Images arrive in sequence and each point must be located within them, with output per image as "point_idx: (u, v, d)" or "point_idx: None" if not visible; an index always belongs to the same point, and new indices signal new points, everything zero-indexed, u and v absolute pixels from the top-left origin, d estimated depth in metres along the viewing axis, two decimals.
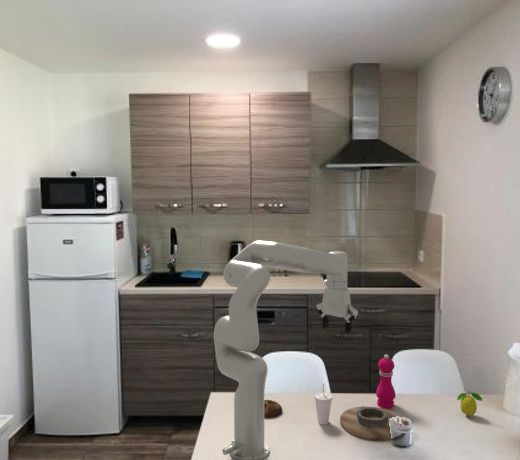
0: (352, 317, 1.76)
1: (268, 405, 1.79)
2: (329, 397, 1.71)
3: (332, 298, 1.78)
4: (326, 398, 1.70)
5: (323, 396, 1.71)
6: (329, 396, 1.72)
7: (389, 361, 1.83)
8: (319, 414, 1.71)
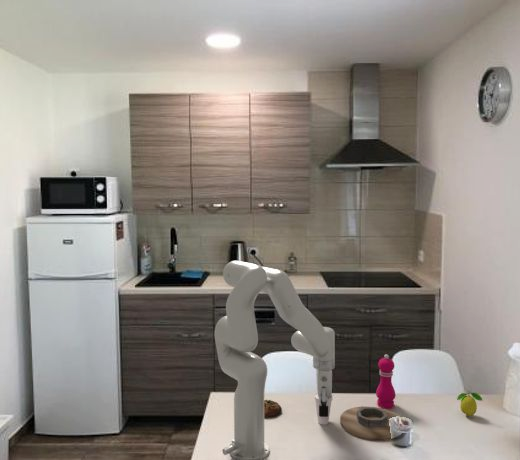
0: None
1: (267, 405, 1.79)
2: None
3: None
4: None
5: None
6: None
7: (389, 361, 1.83)
8: None
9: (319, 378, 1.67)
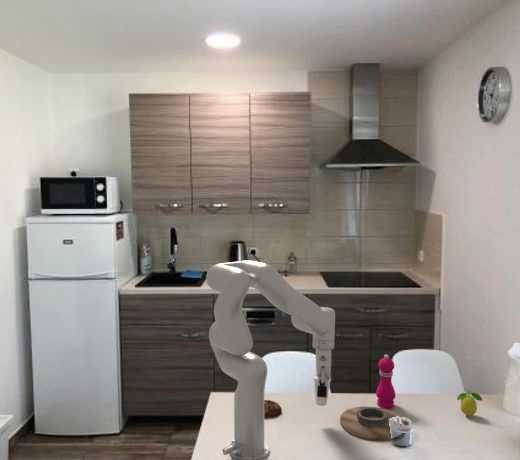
0: None
1: (267, 405, 1.79)
2: (328, 378, 1.70)
3: None
4: None
5: None
6: None
7: (389, 361, 1.83)
8: None
9: (318, 357, 1.66)
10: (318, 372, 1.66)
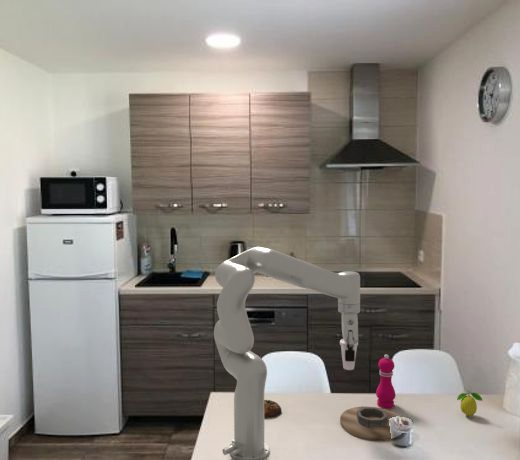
0: None
1: (267, 405, 1.79)
2: (355, 342, 1.68)
3: None
4: None
5: None
6: (355, 341, 1.69)
7: (389, 361, 1.83)
8: None
9: (345, 321, 1.64)
10: (345, 336, 1.64)
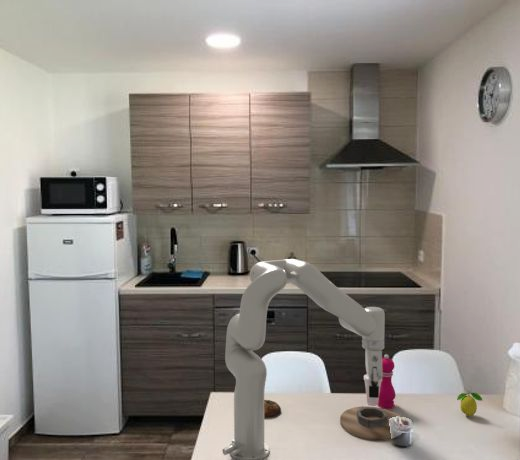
0: None
1: (267, 405, 1.79)
2: (379, 378, 1.68)
3: None
4: None
5: None
6: None
7: (389, 361, 1.83)
8: None
9: (370, 358, 1.65)
10: (370, 373, 1.65)
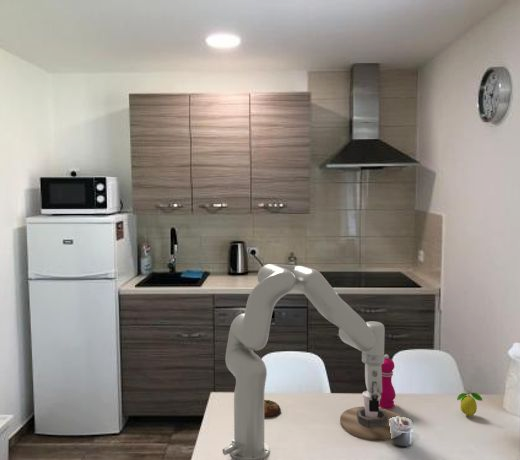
0: None
1: (266, 405, 1.79)
2: (378, 395, 1.69)
3: None
4: None
5: (372, 394, 1.69)
6: (378, 394, 1.70)
7: (389, 361, 1.83)
8: (368, 413, 1.69)
9: (369, 373, 1.65)
10: (369, 387, 1.65)
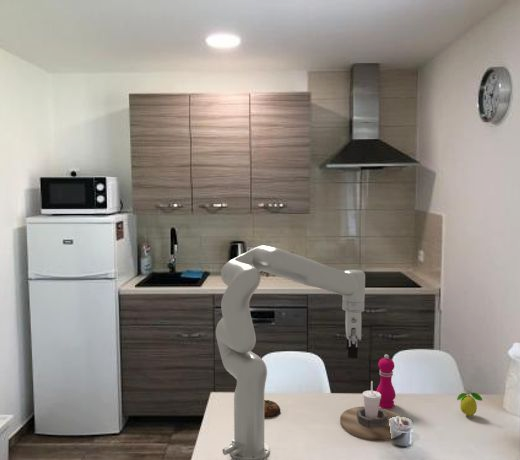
0: None
1: (266, 405, 1.79)
2: (378, 395, 1.69)
3: None
4: (375, 396, 1.68)
5: (372, 394, 1.69)
6: (378, 394, 1.70)
7: (389, 361, 1.83)
8: (368, 413, 1.69)
9: (349, 319, 1.65)
10: (348, 334, 1.65)
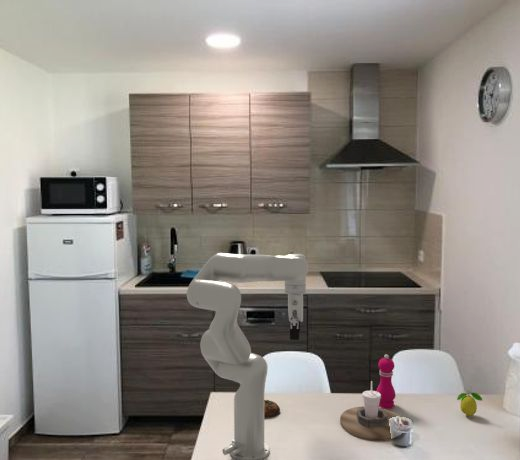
0: None
1: (265, 405, 1.79)
2: (378, 395, 1.69)
3: None
4: (375, 396, 1.68)
5: (372, 394, 1.69)
6: (377, 394, 1.70)
7: (389, 361, 1.83)
8: (368, 413, 1.69)
9: (290, 302, 1.69)
10: (290, 316, 1.69)
